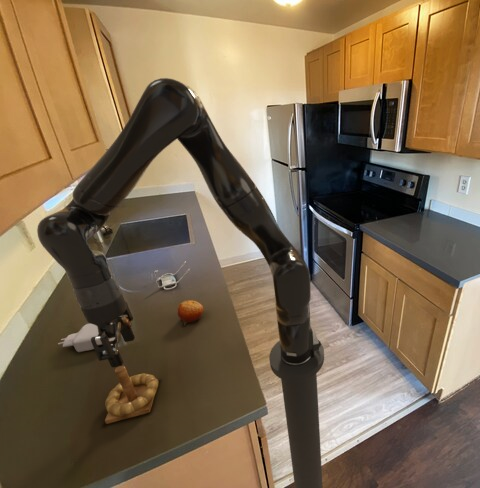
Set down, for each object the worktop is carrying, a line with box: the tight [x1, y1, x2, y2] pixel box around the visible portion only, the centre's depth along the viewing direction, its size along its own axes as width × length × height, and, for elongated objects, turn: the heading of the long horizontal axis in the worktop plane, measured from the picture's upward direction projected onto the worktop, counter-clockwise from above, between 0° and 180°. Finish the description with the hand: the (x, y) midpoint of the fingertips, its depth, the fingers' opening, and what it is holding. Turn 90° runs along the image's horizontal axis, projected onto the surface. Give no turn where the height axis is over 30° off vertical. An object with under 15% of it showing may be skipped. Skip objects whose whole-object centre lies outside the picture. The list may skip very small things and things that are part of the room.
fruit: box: [177, 299, 204, 326], centre depth 96 cm, size 8×8×8 cm
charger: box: [57, 323, 115, 353], centre depth 87 cm, size 5×9×15 cm
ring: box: [104, 372, 159, 416], centre depth 68 cm, size 11×11×2 cm
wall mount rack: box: [153, 260, 191, 291], centre depth 121 cm, size 16×14×6 cm
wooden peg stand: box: [104, 364, 159, 425], centre depth 66 cm, size 9×9×11 cm
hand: (124, 352), depth 67 cm, fingers open, 8 cm apart
